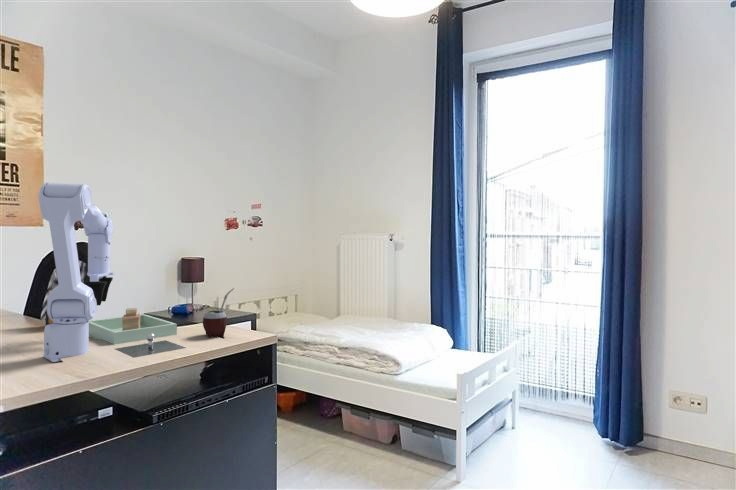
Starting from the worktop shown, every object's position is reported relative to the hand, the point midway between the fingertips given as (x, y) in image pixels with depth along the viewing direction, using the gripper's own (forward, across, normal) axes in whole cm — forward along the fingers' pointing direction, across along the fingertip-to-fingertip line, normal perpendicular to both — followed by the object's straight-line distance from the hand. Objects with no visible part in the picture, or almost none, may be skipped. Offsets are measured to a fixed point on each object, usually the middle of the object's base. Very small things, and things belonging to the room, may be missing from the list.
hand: (99, 303), depth 142 cm
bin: (+10, +1, -8) cm, 13 cm away
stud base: (+10, -20, -16) cm, 27 cm away
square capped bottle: (+10, +1, -9) cm, 13 cm away
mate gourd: (+11, -7, -33) cm, 36 cm away
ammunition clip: (+11, +19, +16) cm, 27 cm away
